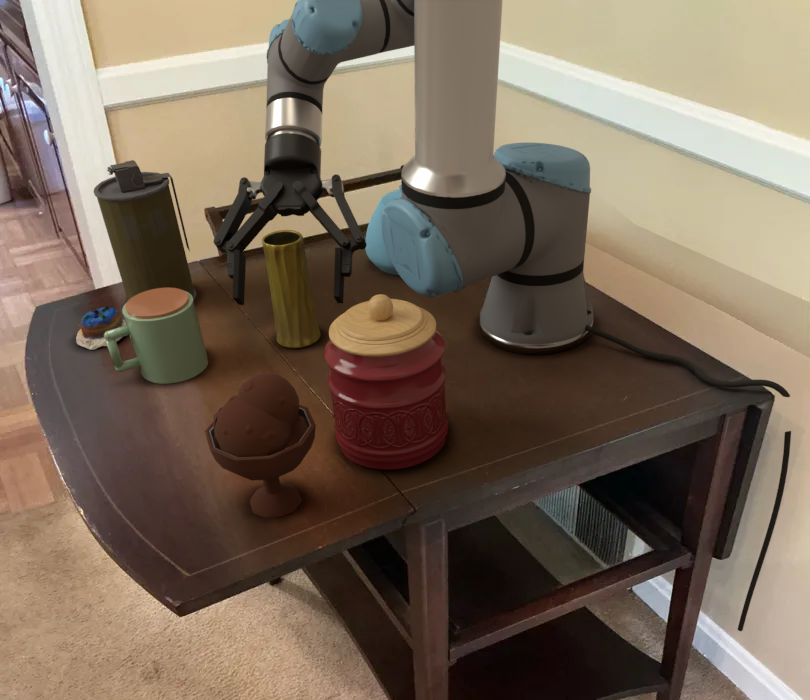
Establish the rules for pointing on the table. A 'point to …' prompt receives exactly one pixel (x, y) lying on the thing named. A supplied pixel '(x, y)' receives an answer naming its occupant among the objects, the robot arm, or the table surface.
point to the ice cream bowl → (263, 440)
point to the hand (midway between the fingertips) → (288, 301)
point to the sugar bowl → (380, 235)
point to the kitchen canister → (387, 383)
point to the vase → (290, 289)
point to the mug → (161, 336)
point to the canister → (144, 229)
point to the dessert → (98, 327)
